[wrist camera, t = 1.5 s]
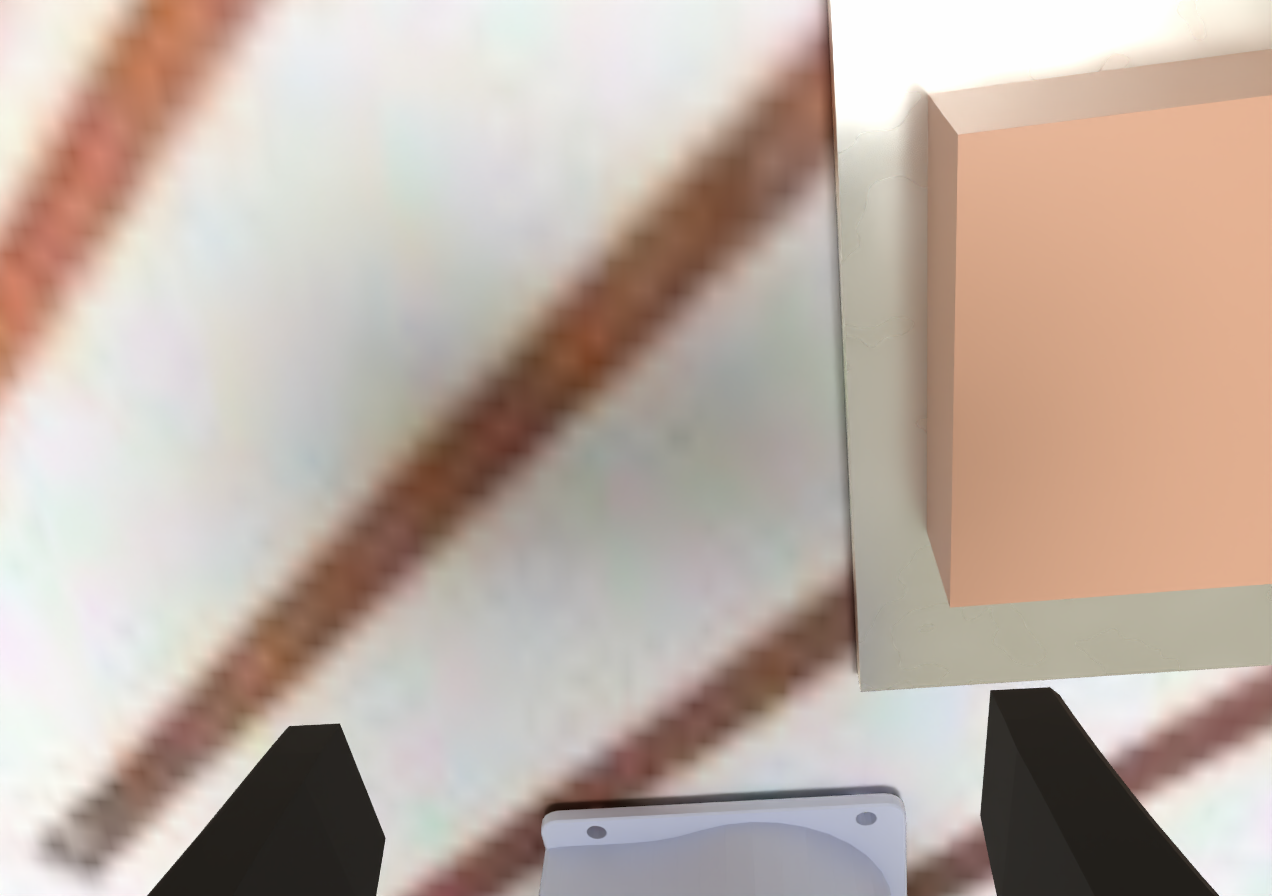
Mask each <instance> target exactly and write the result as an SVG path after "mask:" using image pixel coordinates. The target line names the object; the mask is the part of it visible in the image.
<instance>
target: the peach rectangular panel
mask: <svg viewBox="0 0 1272 896" xmlns="http://www.w3.org/2000/svg"><path fill="white" fill-rule="evenodd" d="M927 534H928V537H929V541H930V544H931V547H932V550H933V554H934V557H935V560H936V564H937V567H938V570H939V573H940V577H941V580H942V583H943V586H944V590H945V593H946V596H947V600H948V603H949V606H950V608H951V607H965V606H978V605H992V604H1006V603H1019V602H1033V601H1046V600H1060V599H1073V598H1087V597H1100V596H1114V595H1128V594H1141V593H1155V592H1168V591H1182V590H1195V589H1209V588H1222V587H1236V586H1250V585H1263V584H1272V49H1267V50H1259V51H1252V52H1244V53H1237V54H1229V55H1221V56H1214V57H1206V58H1198V59H1191V60H1183V61H1175V62H1168V63H1160V64H1153V65H1145V66H1137V67H1130V68H1122V69H1114V70H1107V71H1099V72H1092V73H1084V74H1076V75H1069V76H1061V77H1053V78H1046V79H1038V80H1030V81H1023V82H1015V83H1008V84H1000V85H992V86H985V87H977V88H969V89H962V90H954V91H947V92H939V93H931V94H928V217H927Z"/></svg>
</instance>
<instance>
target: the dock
mask: <svg viewBox="0 0 1272 896" xmlns="http://www.w3.org/2000/svg"><path fill="white" fill-rule="evenodd" d="M827 3H828V25H829V47H830V70H831V92H832V114H833V137H834V159H835V181H836V204H837V226H838V248H839V271H840V293H841V315H842V338H843V360H844V382H845V405H846V427H847V449H848V472H849V494H850V516H851V539H852V561H853V583H854V606H855V628H856V650H857V673H858V679H859V684H860V690H861V692H865V691H880V690H895V689H911V688H926V687H942V686H957V685H972V684H988V683H1003V682H1018V681H1034V680H1049V679H1065V678H1080V677H1095V676H1111V675H1126V674H1141V673H1157V672H1172V671H1187V670H1203V669H1218V668H1234V667H1249V666H1264V665H1272V584H1263V585H1250V586H1236V587H1222V588H1209V589H1195V590H1182V591H1168V592H1155V593H1141V594H1128V595H1114V596H1100V597H1087V598H1073V599H1060V600H1046V601H1033V602H1019V603H1006V604H992V605H978V606H965V607H951V608H950V606H949V603H948V600H947V596H946V593H945V590H944V586H943V583H942V580H941V577H940V573H939V570H938V567H937V564H936V560H935V557H934V554H933V550H932V547H931V544H930V541H929V537H928V534H927V217H928V94H931V93H939V92H947V91H954V90H962V89H969V88H977V87H985V86H992V85H1000V84H1008V83H1015V82H1023V81H1030V80H1038V79H1046V78H1053V77H1061V76H1069V75H1076V74H1084V73H1092V72H1099V71H1107V70H1114V69H1122V68H1130V67H1137V66H1145V65H1153V64H1160V63H1168V62H1175V61H1183V60H1191V59H1198V58H1206V57H1214V56H1221V55H1229V54H1237V53H1244V52H1252V51H1259V50H1267V49H1272V0H827Z"/></svg>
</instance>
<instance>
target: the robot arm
mask: <svg viewBox="0 0 1272 896" xmlns="http://www.w3.org/2000/svg"><path fill="white" fill-rule="evenodd" d="M863 812H866V813H863ZM980 816H981V821H982V826H983V831H984V836H985V841H986V846H987V851H988V856H989V860H990V865H991V870H992V875H993V879H994V884H995V889H996V893H997V896H1219V895H1218V894H1217V893H1216V892H1215V890H1214V889H1213V888H1212V887H1211V886H1210V885H1209V884H1208V883H1207V881H1206V880H1205V879H1204V878H1203V877H1202V876H1201V875H1200V873H1199V872H1198V871H1197V870H1196V869H1195V868H1194V866H1193V865H1192V864H1191V863H1190V862H1189V860H1188V859H1187V858H1186V857H1185V856H1184V855H1183V853H1182V852H1181V851H1180V850H1179V849H1178V848H1177V846H1176V845H1175V844H1174V843H1173V842H1172V841H1171V839H1170V838H1169V837H1168V836H1167V835H1166V833H1165V832H1164V831H1163V830H1162V829H1161V828H1160V826H1159V825H1158V824H1157V823H1156V822H1155V820H1154V819H1153V818H1152V817H1151V816H1150V814H1149V813H1148V812H1147V811H1146V809H1145V808H1144V807H1143V806H1142V804H1141V803H1140V802H1139V801H1138V800H1137V798H1136V797H1135V796H1134V794H1133V793H1132V792H1131V791H1130V789H1129V788H1128V787H1127V786H1126V784H1125V783H1124V782H1123V780H1122V779H1121V778H1120V777H1119V775H1118V774H1117V773H1116V771H1115V770H1114V769H1113V768H1112V766H1111V765H1110V764H1109V762H1108V761H1107V760H1106V758H1105V757H1104V756H1103V754H1102V753H1101V752H1100V751H1099V749H1098V748H1097V747H1096V745H1095V744H1094V743H1093V741H1092V740H1091V738H1090V737H1089V736H1088V734H1087V733H1086V732H1085V730H1084V729H1083V728H1082V726H1081V725H1080V723H1079V722H1078V721H1077V719H1076V718H1075V716H1074V715H1073V714H1072V712H1071V711H1070V709H1069V708H1068V706H1067V705H1066V704H1065V702H1064V701H1063V699H1062V698H1061V696H1060V695H1059V694H1058V693H1056V692H1055V691H1054V690H1053V689H1051V688H1050V687H1048V688H1028V689H1008V690H991V691H990V703H989V716H988V728H987V740H986V752H985V765H984V777H983V789H982V802H981V814H980ZM541 835H542V838H543V842H544V845H545V848H546V850H545V857H544V864H543V871H542V877H541V884H540V891H539V896H907V864H906V813H905V808H904V804H903V801H902V800H901V799H900V798H899V797H898V796H895V795H893V794H887V793H878V794H860V795H841V796H822V797H804V798H785V799H766V800H748V801H729V802H710V803H692V804H673V805H654V806H636V807H617V808H598V809H580V810H561V811H554V812H550V813H549V814H547V815H545V817H544V818H543V821H542V827H541ZM384 844H385V836H384V833H383V831H382V828H381V826H380V823H379V821H378V818H377V816H376V813H375V811H374V808H373V806H372V803H371V801H370V798H369V796H368V793H367V791H366V788H365V786H364V783H363V781H362V778H361V776H360V773H359V771H358V768H357V766H356V763H355V761H354V758H353V756H352V753H351V751H350V748H349V746H348V743H347V740H346V738H345V735H344V733H343V730H342V728H341V725H340V724H323V725H303V726H289V727H288V728H287V729H286V730H285V731H284V732H283V734H282V735H281V736H280V737H279V738H278V740H277V741H276V742H275V743H274V744H273V745H272V747H271V748H270V749H269V750H268V751H267V753H266V754H265V755H264V756H263V757H262V759H261V760H260V761H259V762H258V763H257V765H256V766H255V767H254V768H253V770H252V771H251V772H250V773H249V774H248V776H247V777H246V778H245V779H244V781H243V782H242V783H241V784H240V785H239V787H238V788H237V789H236V790H235V792H234V793H233V794H232V795H231V797H230V798H229V799H228V800H227V801H226V803H225V804H224V805H223V806H222V808H221V809H220V810H219V811H218V812H217V814H216V815H215V816H214V817H213V818H212V820H211V821H210V822H209V823H208V824H207V826H206V827H205V828H204V829H203V831H202V832H201V833H200V834H199V835H198V837H197V838H196V839H195V840H194V841H193V843H192V844H191V845H190V846H189V847H188V848H187V850H186V851H185V852H184V853H183V854H182V855H181V857H180V858H179V859H178V860H177V861H176V862H175V864H174V865H173V866H172V867H171V868H170V870H169V871H168V872H167V873H166V874H165V875H164V877H163V878H162V879H161V880H160V881H159V882H158V884H157V885H156V886H155V887H154V888H153V889H152V891H151V892H150V893H149V894H148V895H147V896H376V893H377V887H378V881H379V875H380V869H381V863H382V857H383V850H384Z"/></svg>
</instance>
